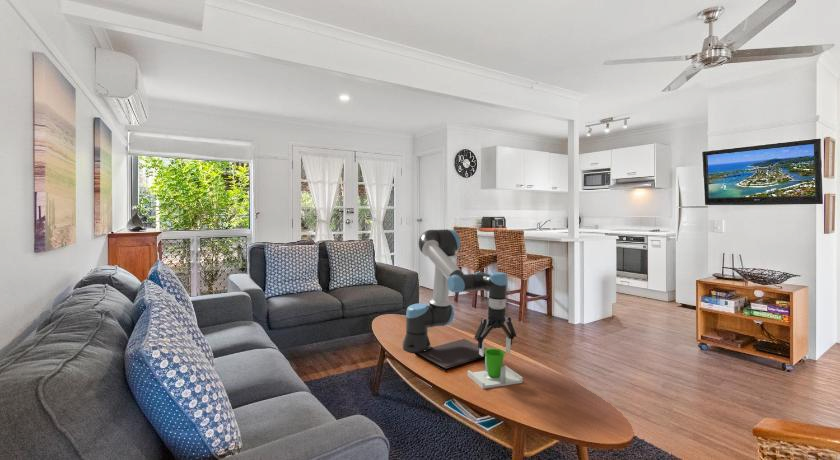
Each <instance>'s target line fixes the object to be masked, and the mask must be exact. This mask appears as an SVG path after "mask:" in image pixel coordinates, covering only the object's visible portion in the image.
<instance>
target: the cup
mask: <svg viewBox="0 0 840 460" xmlns="http://www.w3.org/2000/svg"><path fill="white" fill-rule="evenodd" d="M484 354H485V356H486V362H487V369H488V375H489V377H491V378H499V377H500V374H501V366H503V361H504V356H505V354H506V351H504V350H502V349H500V348H487V349H484Z"/></svg>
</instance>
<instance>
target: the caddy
mask: <svg viewBox="0 0 840 460" xmlns="http://www.w3.org/2000/svg"><path fill="white" fill-rule="evenodd" d="M467 377H469V379H471V380H472V382H474V383H475V384H476V385H478V386H479V387H480V388H481V389H482V390H484V389H490V388H498V387H504V386H509V385H516V384H522V383H523V381H524V379H523V378H524V377H523V376H522V375H520V374H518V373H517V372H516V371H515V370H513V369H511V368H510V367H508V366H507V365H506V364H505V365H502V366H501V374H500V377H499V378H491V377H489V375H488V369H487V362H486V355H485V357H484V370H480V371H475V372H474V371H473V372H472V371H471V370H470V369H469V370H467Z"/></svg>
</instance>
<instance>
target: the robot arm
mask: <svg viewBox="0 0 840 460" xmlns="http://www.w3.org/2000/svg"><path fill="white" fill-rule="evenodd" d="M418 248H419V251H420V252H421V253H422V255H424V256H425V257H428V259H429V260H430V261H431V262H432V264H434V278H433V279H434V280H433V288H432V289H433V291H432V298H431V299H430V300H429V305H428V304H427V303H421V302H420V303H419V302H418V303H414V304H411V305H409V306H408V307H407V308H406V313H405V317H406V319H405V323H406V324H405V330H406V331H405V335H404V339H403V342H402V350H405V351H406V352H409V353H422V352H421V351H424V350H428V349H430V350H431V342H430V338H429V335H428V333H429V332H428V330H429V329H428V328H435V327H437V328H438V327H444V326H447V325H450V324H452V322H453V319H454V317H455V311H454V307H453V304H451V301H450V300H449V295H450V292H452V293H462V292H473V291H482V290H483V291H486V292H488V307H487V310H488V311H487V315H488V318H484V317H482V318H481V322H480V324H479V326H478V329H477V331H476V332H475V334H474V337H473V339H474V340H475V341H477V347H478V351H479V352H478V354H479V355H480V356H481V357H484V354H485V341H484V340H485V338H486V337H487V336H488V335H489V333H490V332H491V331H492V330H493V329H495V330H496V329H501V330H503V332H504V333H505V334H506V336H505V337H506V338H505V353H508V354H511V346H512V345H513V340H514V339H515V337H517V332H516V330H515V329H514V325H513V323H512V317H510V316H507V315H506V310H507V309H506V307H507V305H506V303H507V301H506V300H507V290H508V277H507V274H506V273H505V272H501V271H491V272H490V274H489V273H486V272H483V271H475V272H474V273H468V274H466V273H464V271H462V269H460V267H458V265H457V264H455V262H454V261H453V260H452V259H453V257H455V256H456V252H457V251H459V250H460V248H461V238H460V236H459V234H458V232H457V231H455V230H454V229H446V228H445V229H428V230H425V231H424V232H423V233H422V234H421V235H420V237H419V239H418ZM505 323H506V325H507V327H506V325H505ZM428 351H429V350H428Z"/></svg>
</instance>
